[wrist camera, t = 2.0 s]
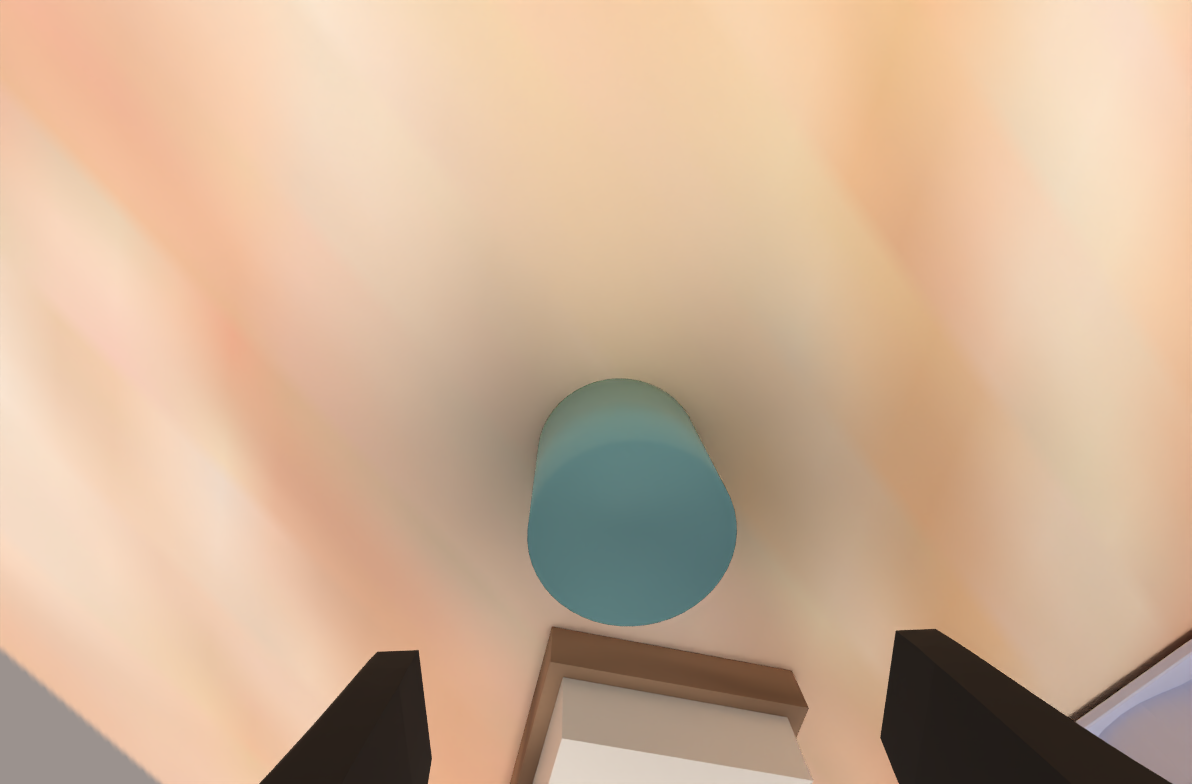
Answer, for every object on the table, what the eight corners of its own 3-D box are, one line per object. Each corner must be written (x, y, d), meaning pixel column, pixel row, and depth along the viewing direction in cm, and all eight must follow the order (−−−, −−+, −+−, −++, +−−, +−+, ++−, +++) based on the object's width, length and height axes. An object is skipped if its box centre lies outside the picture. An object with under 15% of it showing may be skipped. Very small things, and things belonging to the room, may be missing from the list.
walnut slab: (552, 613, 21) (550, 661, 19) (785, 657, 22) (808, 708, 20) (503, 799, 23) (496, 860, 21) (715, 832, 24) (729, 894, 22)
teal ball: (616, 344, 18) (632, 396, 13) (730, 451, 19) (779, 532, 14) (504, 458, 18) (483, 543, 14) (618, 554, 20) (632, 660, 15)
